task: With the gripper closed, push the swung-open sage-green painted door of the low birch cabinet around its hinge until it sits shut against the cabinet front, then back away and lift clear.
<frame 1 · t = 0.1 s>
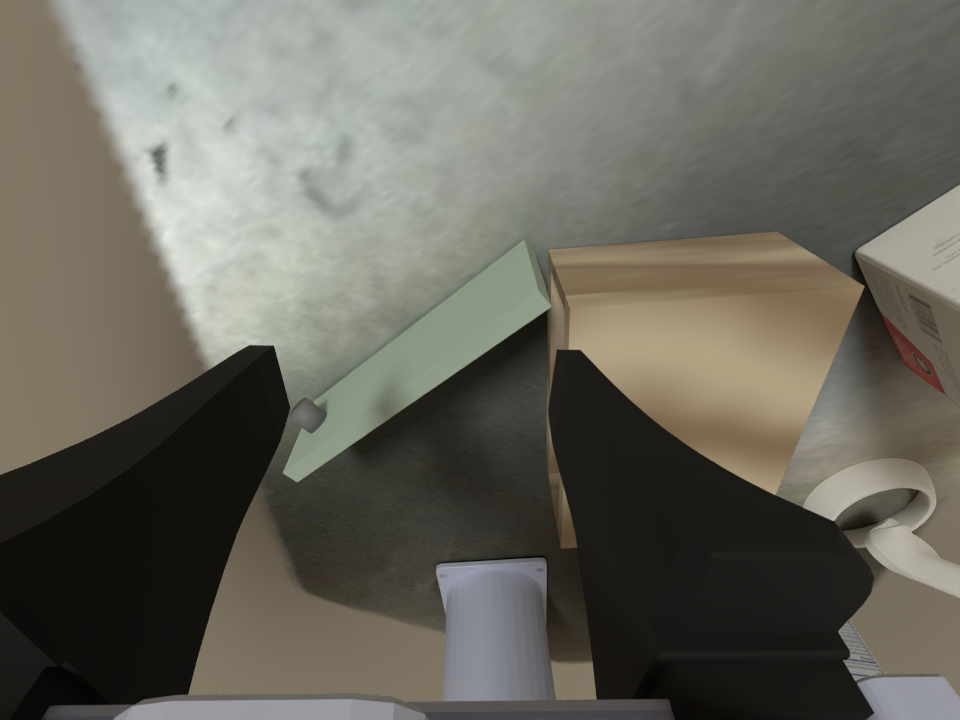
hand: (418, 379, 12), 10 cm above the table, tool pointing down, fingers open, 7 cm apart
medicine box: (760, 582, 37), on the table
hook: (860, 494, 31), on the table
cabinet door: (398, 355, 20), point 3 cm above the table, hinge at -55.0°
cabinet: (642, 369, 25), on the table
ink cartridge box: (927, 278, 22), on the table
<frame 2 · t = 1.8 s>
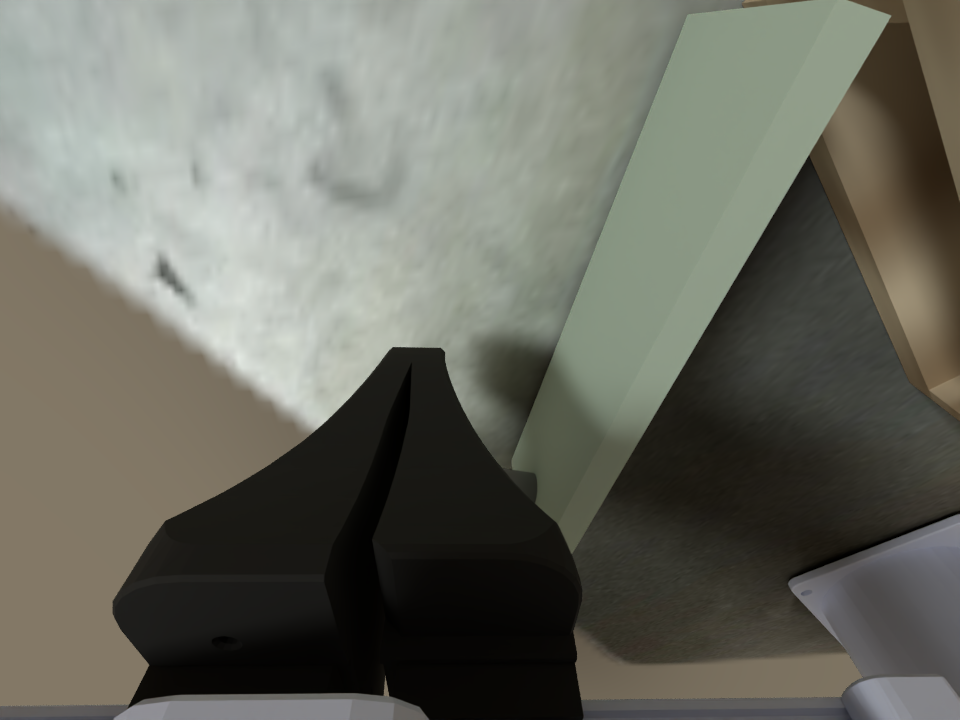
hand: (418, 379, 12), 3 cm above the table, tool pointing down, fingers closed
cabinet door: (586, 342, 12), point 3 cm above the table, hinge at -55.0°
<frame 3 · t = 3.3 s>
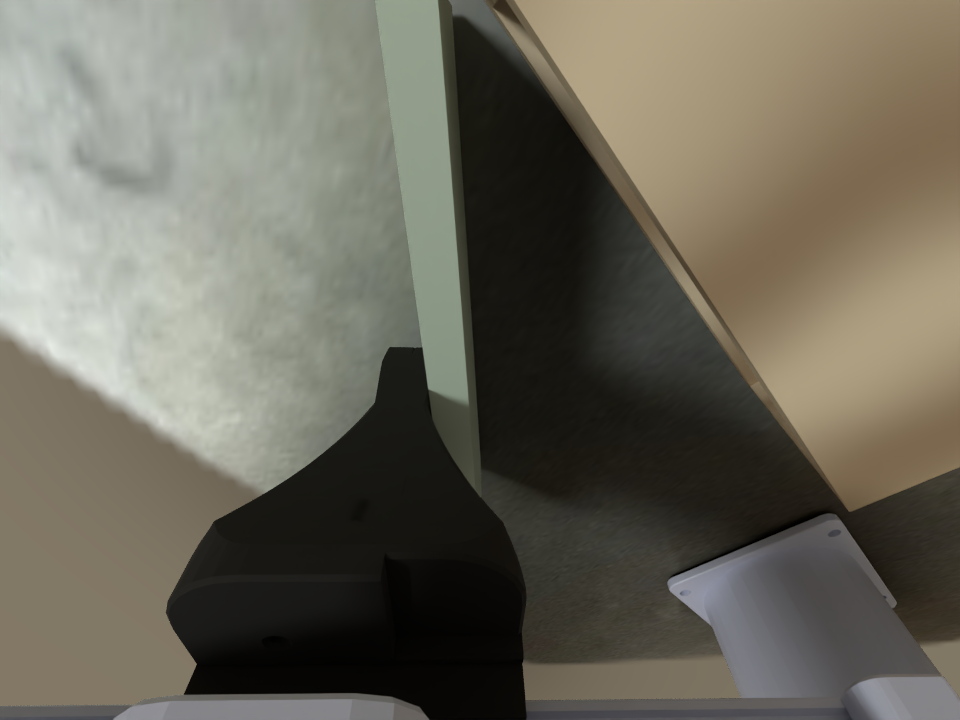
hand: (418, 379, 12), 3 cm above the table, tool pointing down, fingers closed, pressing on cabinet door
cabinet door: (430, 346, 12), point 3 cm above the table, hinge at -38.3°, touching gripper
cabinet: (823, 91, 11), on the table
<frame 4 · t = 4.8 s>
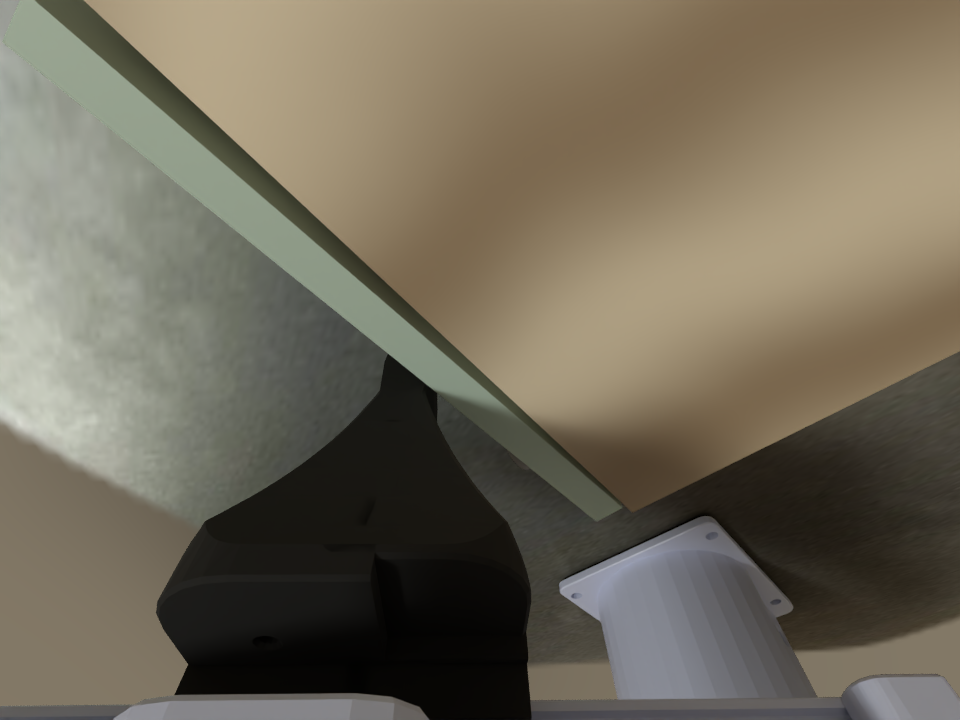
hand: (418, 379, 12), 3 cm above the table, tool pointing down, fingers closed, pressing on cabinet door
cabinet door: (402, 304, 11), point 3 cm above the table, hinge at 1.6°, touching gripper
cabinet: (599, 95, 11), on the table
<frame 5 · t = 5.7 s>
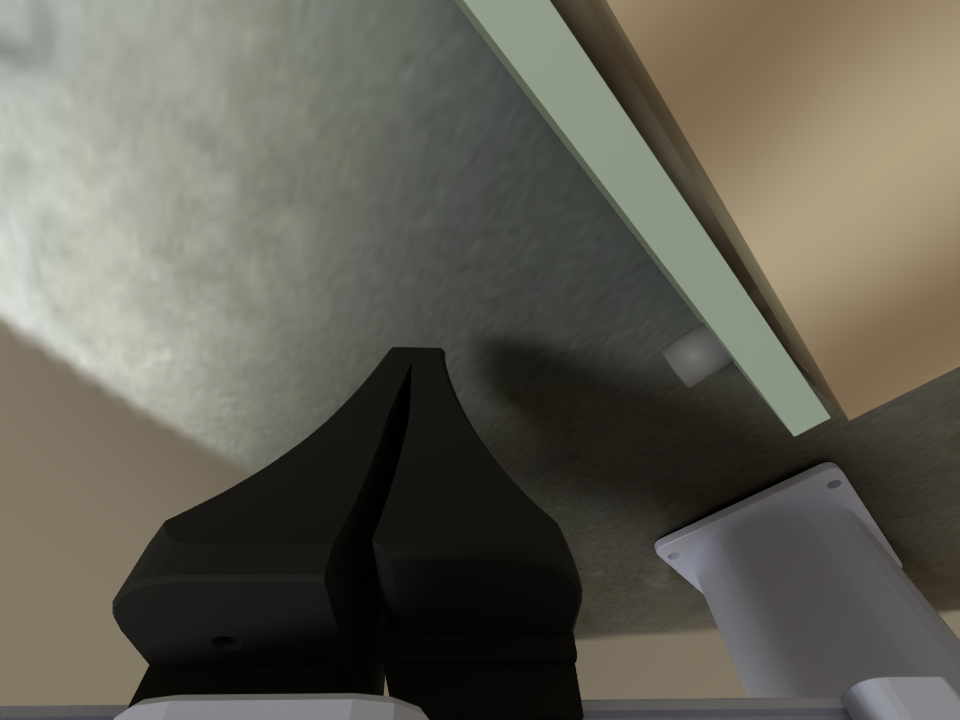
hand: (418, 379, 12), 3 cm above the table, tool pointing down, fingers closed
cabinet door: (577, 175, 10), point 3 cm above the table, hinge at 1.5°
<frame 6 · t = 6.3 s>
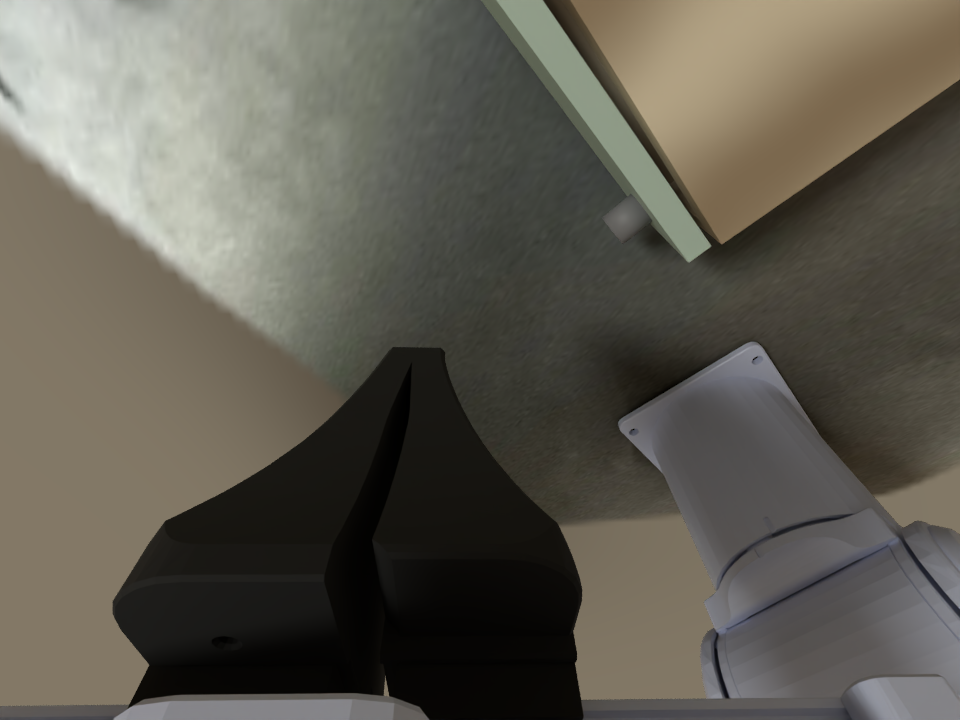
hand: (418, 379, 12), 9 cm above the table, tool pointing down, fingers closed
cabinet door: (534, 76, 14), point 3 cm above the table, hinge at 1.5°
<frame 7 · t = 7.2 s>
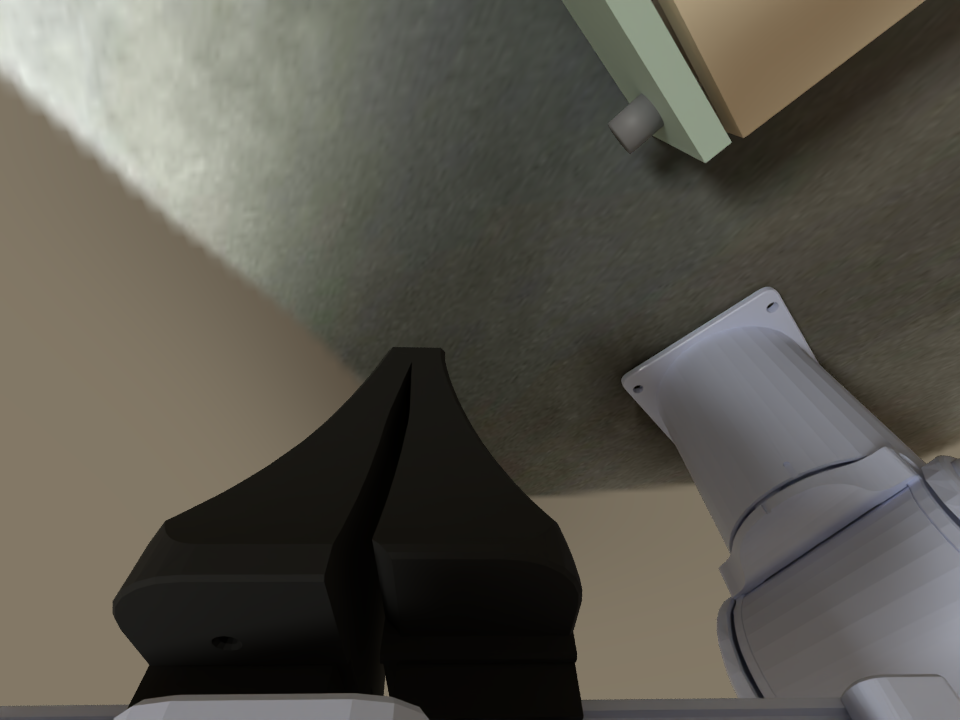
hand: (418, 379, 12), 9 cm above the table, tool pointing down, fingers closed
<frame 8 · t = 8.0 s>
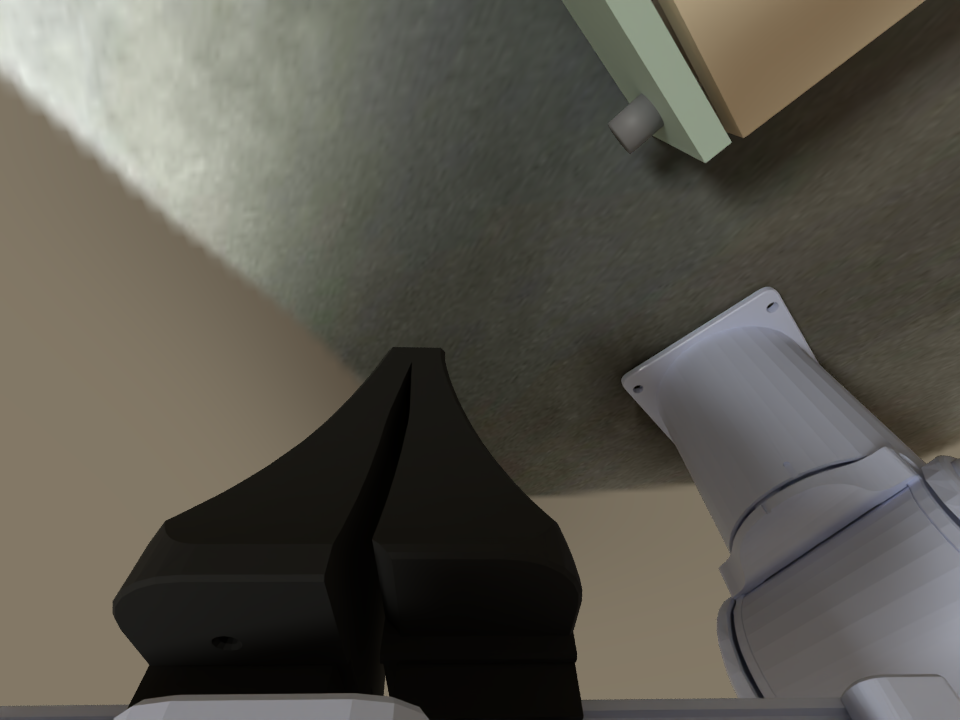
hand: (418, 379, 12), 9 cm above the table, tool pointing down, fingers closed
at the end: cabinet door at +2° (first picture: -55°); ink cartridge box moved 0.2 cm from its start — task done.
